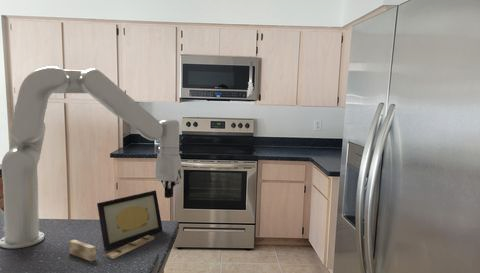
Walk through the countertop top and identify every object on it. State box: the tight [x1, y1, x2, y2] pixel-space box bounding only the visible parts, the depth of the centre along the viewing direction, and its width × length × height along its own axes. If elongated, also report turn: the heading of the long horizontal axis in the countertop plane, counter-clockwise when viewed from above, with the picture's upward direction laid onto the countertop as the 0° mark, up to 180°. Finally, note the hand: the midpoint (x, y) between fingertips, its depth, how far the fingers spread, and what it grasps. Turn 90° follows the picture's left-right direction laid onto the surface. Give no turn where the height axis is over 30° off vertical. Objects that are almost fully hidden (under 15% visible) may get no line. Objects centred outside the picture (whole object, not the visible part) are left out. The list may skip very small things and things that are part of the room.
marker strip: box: [105, 235, 155, 260], centre depth 111 cm, size 3×18×1 cm, turn 152°
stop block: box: [69, 239, 97, 262], centre depth 103 cm, size 10×2×4 cm, turn 62°
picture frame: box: [96, 190, 163, 251], centre depth 120 cm, size 23×9×15 cm, turn 143°
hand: (168, 196), depth 134 cm, fingers closed
